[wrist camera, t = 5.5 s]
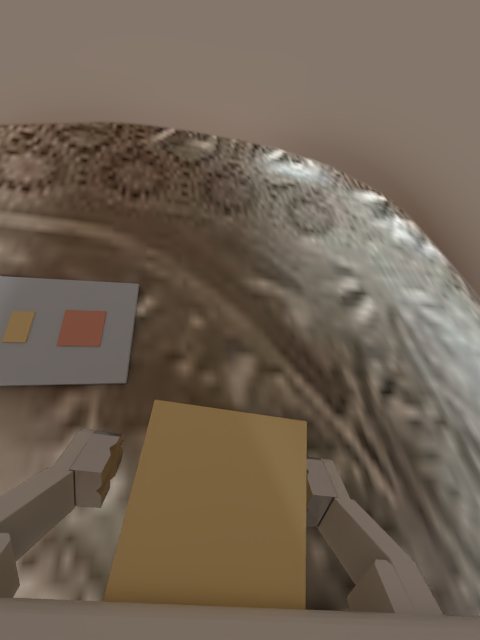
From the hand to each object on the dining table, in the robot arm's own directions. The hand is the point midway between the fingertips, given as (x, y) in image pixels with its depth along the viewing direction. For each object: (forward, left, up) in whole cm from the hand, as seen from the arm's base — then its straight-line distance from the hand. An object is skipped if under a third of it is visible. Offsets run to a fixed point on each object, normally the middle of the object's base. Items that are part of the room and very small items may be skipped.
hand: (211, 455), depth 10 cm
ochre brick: (0, +1, -5) cm, 5 cm away
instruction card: (+11, -5, -5) cm, 13 cm away
